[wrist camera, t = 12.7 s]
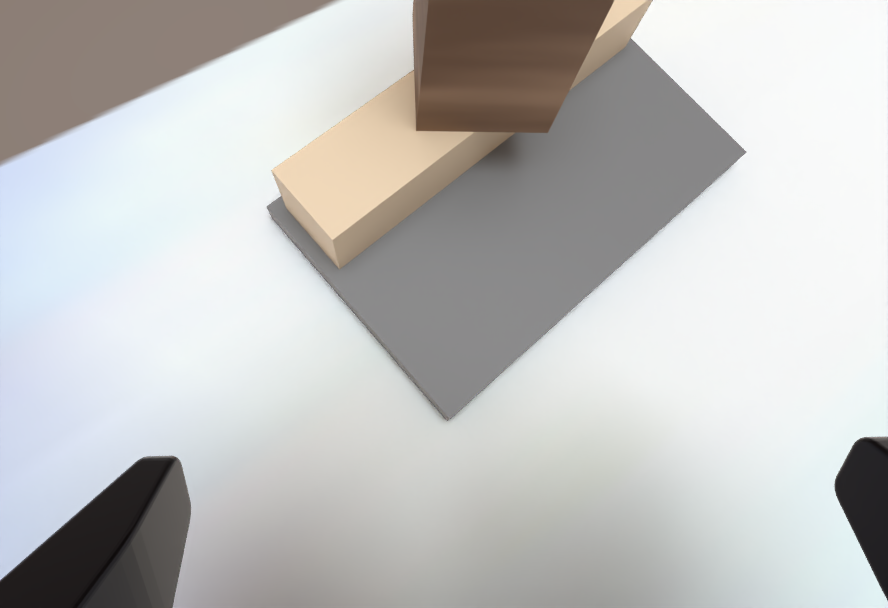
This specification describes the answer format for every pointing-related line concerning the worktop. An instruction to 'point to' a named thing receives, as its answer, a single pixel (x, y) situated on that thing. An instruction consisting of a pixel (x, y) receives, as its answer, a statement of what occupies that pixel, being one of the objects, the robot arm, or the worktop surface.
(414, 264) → the stand
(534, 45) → the post
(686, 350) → the worktop surface
